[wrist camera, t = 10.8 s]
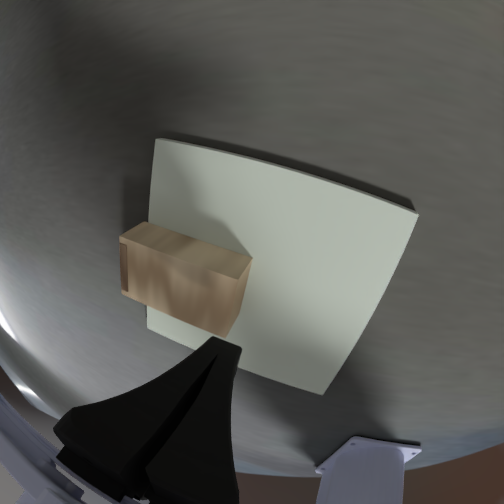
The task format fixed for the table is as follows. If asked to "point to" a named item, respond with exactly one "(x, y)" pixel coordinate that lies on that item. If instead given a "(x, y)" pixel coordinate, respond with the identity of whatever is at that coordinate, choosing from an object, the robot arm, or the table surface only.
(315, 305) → the board
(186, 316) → the slab
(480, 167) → the table surface
